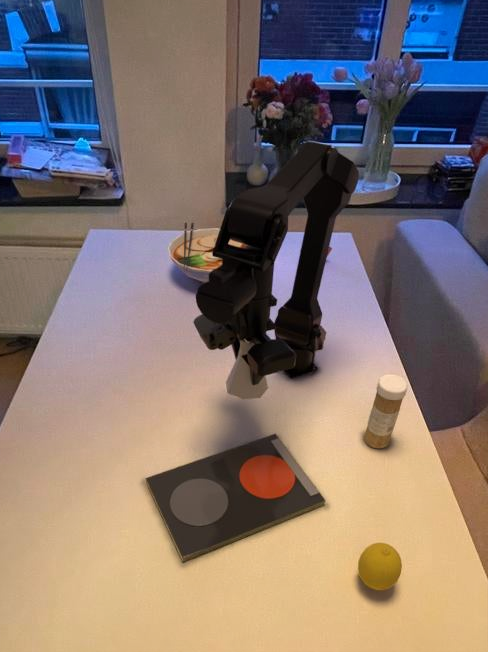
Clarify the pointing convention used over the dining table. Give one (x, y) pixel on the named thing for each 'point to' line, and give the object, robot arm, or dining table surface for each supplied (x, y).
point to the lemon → (380, 566)
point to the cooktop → (232, 495)
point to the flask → (244, 377)
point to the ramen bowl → (197, 252)
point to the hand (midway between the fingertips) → (247, 374)
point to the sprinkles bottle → (385, 410)
